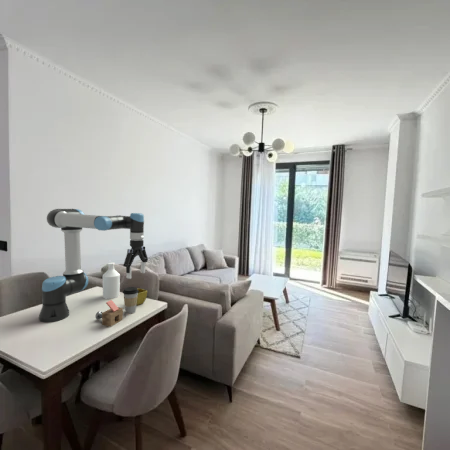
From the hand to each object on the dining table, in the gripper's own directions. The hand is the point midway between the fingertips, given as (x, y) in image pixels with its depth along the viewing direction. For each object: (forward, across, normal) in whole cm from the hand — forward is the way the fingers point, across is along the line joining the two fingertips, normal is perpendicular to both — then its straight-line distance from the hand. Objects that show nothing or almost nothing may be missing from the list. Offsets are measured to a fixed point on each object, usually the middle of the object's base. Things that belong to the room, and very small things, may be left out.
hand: (136, 275), depth 151 cm
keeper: (+18, -7, +11) cm, 22 cm away
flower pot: (+27, +23, +14) cm, 39 cm away
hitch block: (+27, -7, +10) cm, 30 cm away
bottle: (+28, +28, +41) cm, 57 cm away
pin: (+27, -7, +15) cm, 31 cm away
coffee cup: (+27, +9, +10) cm, 31 cm away
